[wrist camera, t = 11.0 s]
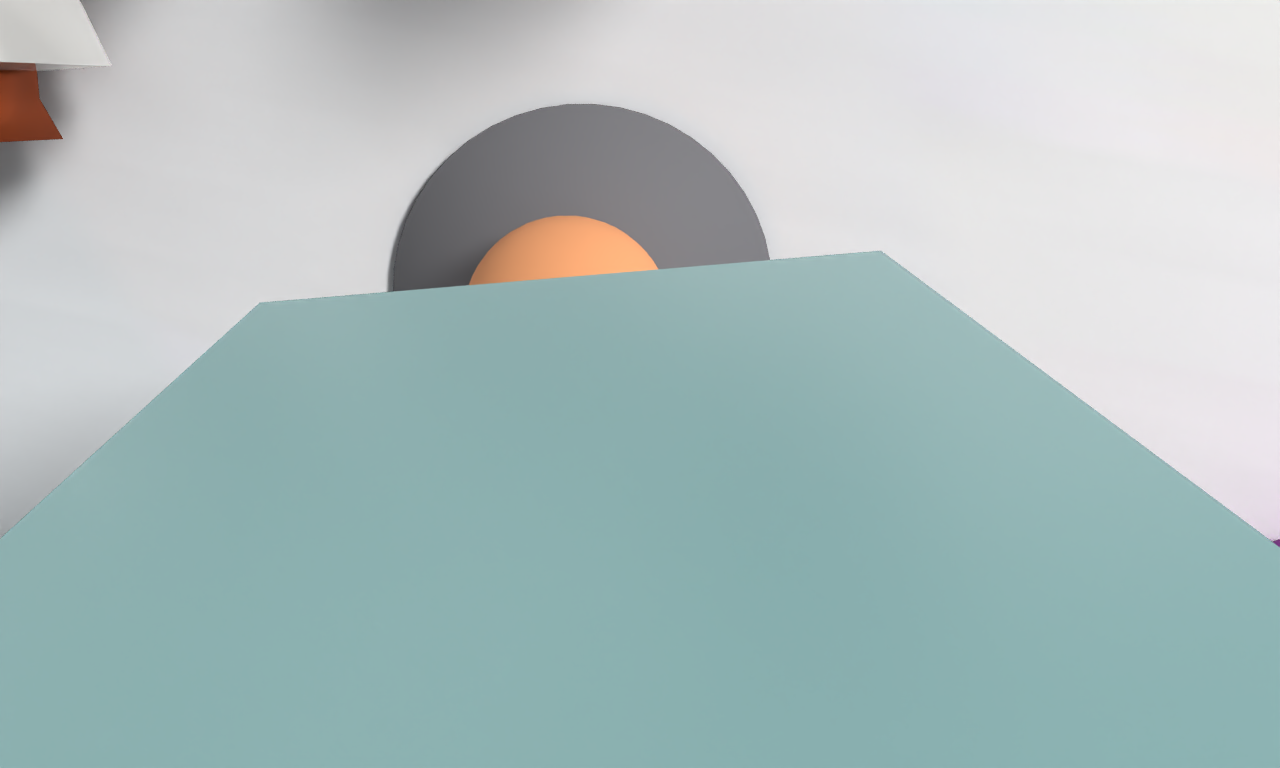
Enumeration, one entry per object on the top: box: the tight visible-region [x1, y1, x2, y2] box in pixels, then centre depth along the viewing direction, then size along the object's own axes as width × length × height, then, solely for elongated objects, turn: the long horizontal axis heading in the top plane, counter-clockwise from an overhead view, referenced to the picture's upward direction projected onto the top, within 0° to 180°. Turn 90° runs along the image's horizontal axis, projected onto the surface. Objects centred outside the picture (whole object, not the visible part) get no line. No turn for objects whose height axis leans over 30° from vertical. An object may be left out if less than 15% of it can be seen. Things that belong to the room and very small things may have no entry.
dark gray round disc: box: [393, 104, 770, 292], centre depth 25 cm, size 10×10×1 cm
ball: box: [469, 216, 658, 285], centre depth 23 cm, size 5×5×5 cm
